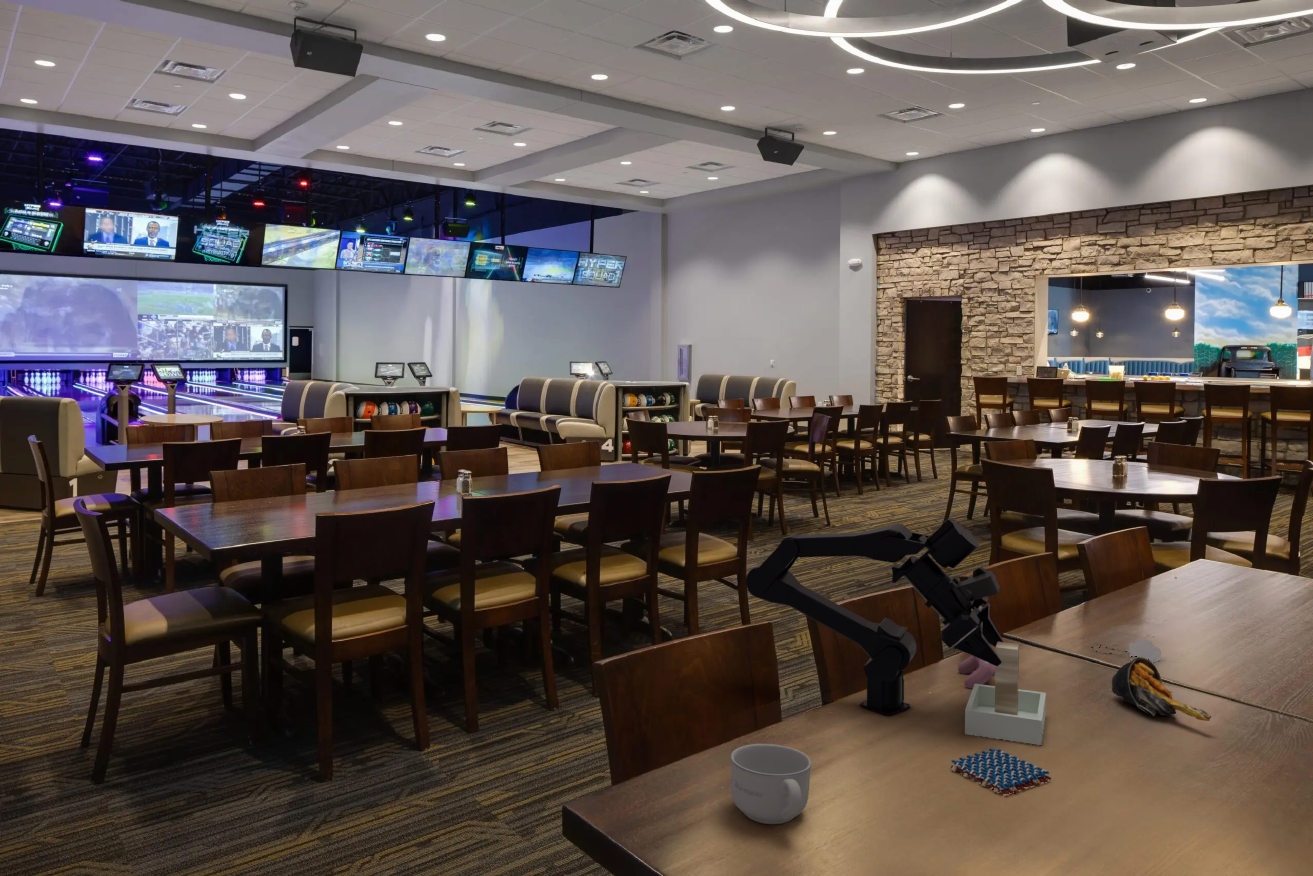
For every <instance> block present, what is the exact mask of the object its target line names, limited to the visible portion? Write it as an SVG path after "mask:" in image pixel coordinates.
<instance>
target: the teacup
mask: <svg viewBox="0 0 1313 876" xmlns="http://www.w3.org/2000/svg"><path fill="white" fill-rule="evenodd" d="M730 761H731V765H730V767H731V768H730V790H731V791H730V792H731V796H732V800H733V803H734V805H735V806H736V807H737V808H738V809H739V810H740V811H741V812H742V813H743V814H744V815H745V816H746V817H748V819H750V820H753V821H754V822H757V823H761V824H767V825H780V824H781V825H782V824H786V823H788V822H790V821H792V820H793V819H794V818H795V817H797V816H799V815H800V814H801V813H802V812H803V811H804V809H805V808H806V807H807V804H808V800H809V795H810V794H809V791H810V784H811V783H810V780H811V779H810V778H811V768H812V760H811V758H810V756H809V755H807V754H806V753H805V752H802V751H801V750H798V749H796V748H793V747H789V746H786V745H781V744H774V743H771V744H770V743H751V744H746V745H741V746H739V747H738V748H736V749H734V750H733V751H732V752H731V754H730Z"/></svg>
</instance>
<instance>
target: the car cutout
mask: <svg viewBox="0 0 1313 876" xmlns="http://www.w3.org/2000/svg"><path fill="white" fill-rule="evenodd" d="M1127 651H1128V652H1127V653H1128V654H1129V659H1131V658H1132V657H1131V656H1133V657H1134V656H1137V657H1136V658H1138V657H1141V658H1145V659H1149V661H1151V660H1153V661H1152V664H1154V662H1155V663H1158V662H1159V661H1162V660H1163V659H1162V658H1163V657H1161V656H1162V651H1161V650H1160V648H1159V647H1156V646H1155V645H1154V643H1153V642H1152V641H1151V640H1148V639H1143V638H1137V640H1136V641H1135V642H1130V643H1129V645H1128V650H1127ZM1130 657H1131V658H1130ZM1156 661H1157V662H1156Z"/></svg>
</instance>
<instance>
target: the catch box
mask: <svg viewBox="0 0 1313 876" xmlns="http://www.w3.org/2000/svg"><path fill="white" fill-rule="evenodd" d="M1046 700H1047V693H1046V692H1043V691H1034V690H1029V689H1028V690H1026V689H1019V688H1018V715H1011V714H1004V713H996V712H995V685H989V684H988V685H987V684H983V685H981V684H974V687H973V688H972V691H971V693H970V694H969V698H968V701H967V704H966V706H965V709H964V735H968V736H973V735H974V736H975V737H980V736H982V737H981V738H986V737H988V738H987V739H993V738H995V739H994V740H999V739H1003V740H1002V741H1006V740H1010V741H1009V742H1013V741H1019V742H1026V743H1033V744H1040V745H1043V744H1042V743H1043V738H1044V731H1043V730H1044V729H1045V722H1046V709H1047V708H1046V703H1047V701H1046ZM974 736H973V737H974ZM1019 742H1018V743H1019ZM1026 743H1025V744H1026Z"/></svg>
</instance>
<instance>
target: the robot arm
mask: <svg viewBox="0 0 1313 876" xmlns="http://www.w3.org/2000/svg"><path fill="white" fill-rule="evenodd" d="M925 548H927V550H926V551H925V552H924V553H922V554H921V555H920V556H919V557H917V556H915V555H918V554H919V553H920V552H921V551H923V550H924V549H925ZM978 548H980V544H979V542H978V540H977V539H976V538H975V536H974V535H973V533H971V532H970V531H969V530H968V529H967V528H965V527H963V526H962V525H960V523H958V522H956V521H954V519H952V518H951V517H948V518H947V519H946V520H944V522H943V523H942V524H941V526H940V527H939V528H937V529H936V530H935V531H934V532H933V533H932V534H931V535H928V534H924V533H919V532H913V531H911V530H910V529H909V528H907V527H906V526H905V525H903V524H901V523H900V524H899V523H896V524H894V523H893V524H889V525H886V526H881V527H876V528H874V529H869V530H865V531H861V532H848V533H847V532H846V533H845V532H844V533H817V534H798V533H793V534H790V535H788V536H786V537H784V538H782V540H781V542H780V543H779V545H778V546H777V547H776V549H774V550H773V551H772V553H771V554H770V555H769V556H768V557H767V558H766V559H765V560H764V561H763V562H762V563H760V564H758V565H757V566H755V567H753V568H752V569H750V570H749V571H748V573H747V574H746V577H745V585H746V588H747V592H749V594H750V595H752V597H755V598H756V599H759V600H762V601H765V602H769V603H772V604H776V605H777V604H778V605H782V606H783V605H784V606H788V607H790V608H792V609H794V610H796V611H798V612H799V613H801V614H803V615H805V616H806V617H808V618H811V619H812V620H814V621H816V622H817V623H819V624H821V625H823V626H824V627H827V628H828V629H830V630H832V631H834V632H836V633H837V634H839V635H841V636H843V637H845V638H846V639H848V640H850V641H852V642H853V643H856V644H857V645H859V646H860V648H862V649H861V650H863V651H864V652H865V653H866V655H867V656H868V657H869V659H868V660H867V662H866V663H865V664H864V666H863V671H864V674H865V677H866V700H864V701H861V702H859V706H860V707H862V708H865V709H868V710H870V711H874V712H876V713H879V714H881V715H884V716H893V715H894V714H897V713H900V712H902V711H905V710H908V709H911V704H910V703H908V702H904V701H905V679H904V671H903V670H905V669H906V668H907V667H908V665H909V664H910V662H911V661H912V659H913V658H914V656H915V655H916V653H917V643H916V640H915V637H914V636H913V635H912V634H911V633H910V632H908V631H907V630H908V627H907V626H901V625H899V624H897V623H895V621H893V620H892V619H890V618H887V617H885V618H884V619H883V620H882V621H881V622H880V623H879V622H872V621H870V620H868V619H867V618H866V619H865V618H864V617H862V616H860V615H858V614H857V613H854V612H853V611H852V610H849V609H848V608H846V607H844V606H841V604H837V602H834V601H833V600H830V598H827V597H825V596H823V595H821V594H819V593H817V592H816V591H814V590H812V589H810V588H809V587H806V586H804V585H803V584H802V583H800V582H799V581H798V579H797V578H796V577H795V575H793V574H792V572H790V570H791V568H793V566H794V565H795V563H796V562H797V560H798V559H799V558H820V557H821V558H823V557H824V558H827V557H831V558H832V557H861V558H866V559H870V560H873V561H881V562H886V563H897V562H899V561H902V560H903V559H904V558H905V557H906V556H909V557H908V558H907V559H906V560H905V561H904V562H903V563H901V564H900V565H898V564H893V566H891V571H892V574H891V575H892V577H891V583H893V584H896V583H897V582H899V580H900V579H902V578H904V579H905V580H906V581H907V582H908V583H909V584H910V586H912V587H913V588H914V590H916V591H917V593H918V594H919V595H920V596H921V597H922V598H923V599H924V605H925V606H926V607H927V608H928V609H929V608H931V607H932V609H933V610H934V611H936V613H937V614H938V615H939V616H940V617H941V619H943V620H942V621H941V623H942V624H943V625H944V626H943V627H942V630H941V632H940V634H941V635H940V640H941V641H942V642H943V643H944V644H945V645H946V646H947V647H948V648H949V649H950V648H953V649H954V650H959V651H961V652H963V653H966V654H968V655H970V656H972V655H973V656H975V657H977V658H979V659H982V660H984V661H986V662H988V663H990V664H993V665H995V666H999V665H1000V664H1001V663H1002V661H1001V660H1000V658H999V657H998V655H997V654H996V650H994V648H996V645H997V642H1005V641H1004V640H1003V638H1002V636H1001V635H1000V633H999V632H998V630H997V627H996V626H995V624H994V622H993V621H992V619H991V617H990V609H991V608H990V607H991V604H990V602H989V598H988V597H994V596H995V595H997V594H999V592H1000V590H1001V587H1000V584H999V583H998V581H997V576H996V574H994V572H993V571H992V570H987V569H986V568H984V567H983V566H979V567H976V568H974V569H973V570H972V577H968V578H967V579H965V580H962V581H961V580H960V579H959V578H958V577H956V576H955V577H954V576H951V577H950V575H949V574H947V572H945V570H944V569H946V568H948V567H949V568H951V569H955V568H957V566H959V565H960V564H961V563H962V562H964V561H965V560H966V559H967V558H968V557H969V556H971V555H972V554H973V553H974V552H976V550H978ZM943 568H944V569H943ZM982 605H984V606H982ZM993 647H994V648H993Z"/></svg>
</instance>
